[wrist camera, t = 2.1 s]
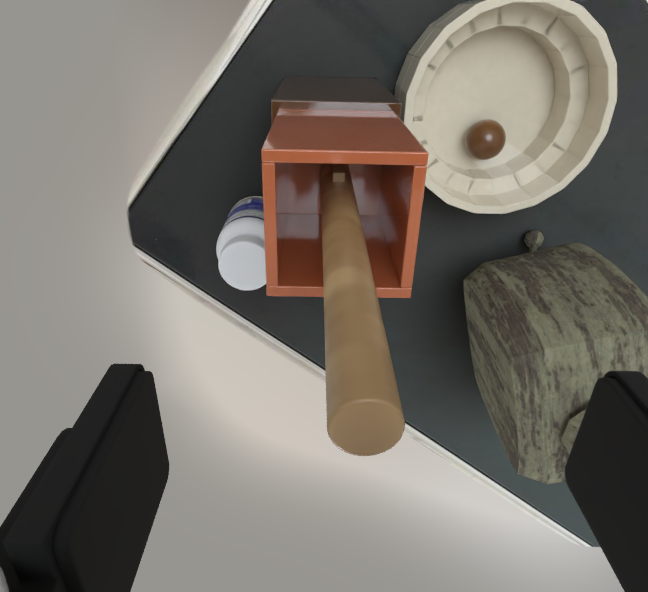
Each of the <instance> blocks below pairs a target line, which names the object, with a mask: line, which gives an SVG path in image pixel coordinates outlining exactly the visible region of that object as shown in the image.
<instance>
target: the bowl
mask: <svg viewBox="0 0 648 592" xmlns="http://www.w3.org/2000/svg"><path fill="white" fill-rule="evenodd" d="M616 63H617V62H616V60H615V57H614V54H613V51H612V49H611V46H610V43H609V40H608V37H607V35H606V32H605V30H604V29H603V28H602V27H601V26H600V25H599V23H598V22H597V21H596V20H595V19H594V18H593V17H592V16H591V15H590V14H589V12H588V11H587V10H586V9H585V8H584V7H583V6H582V5H580V4H577V3H575V2H573V1H571V0H470V1H467V2H464V3H461V4H458V5H457V6H455V7H453V8H452V9H450V10H449V11H448V12H446V13H445V14H444V15H442V16H441V17H440V18H438V19H437V20H436V21H434V22H433V23H431V24H430V25H429V26H428V27H427V28H426V30H425V31H424V32H423V34H422V35H421V36H420V38H419V39H418V40H417V42H416V43H415V44H414V45H413V47H412V48H411V49H410V51H409V52H408V54H407V56H406V58H405V61H404V64H403V66H402V69H401V71H400V74H399V76H398V79H397V82H396V85H395V94H394V96H395V97H396V98H397V99H398V100H399V101H400V102H401V104H402V106H401V116H400V119H401V121H402V122H403V123H404V124H405V125H406V126H407V128H408V129H409V130H410V131H411V132H412V134H413V135H414V136H415V137H416V138H417V140H418V141H419V142H420V143H421V144H422V146H423V147H424V148H425V149H426V150H427V151H428V153H429V156H428V164H427V165H426V166H427V172H426V180H425V186H426V187H427V188H428V189H429V190H431V191H432V192H433V193H434V194H436V195H437V196H438V197H439V198H441V199H442V200H443V201H444V202H445V203H447V204H449V205H452V206H455V207H457V208H460V209H463V210H466V211H469V212H472V213H481V214H506V213H509V212H513V211H517V210H520V209H524V208H528V207H531V206H534V205H537V204H538V203H540V202H542V201H543V200H545V199H547V198H548V197H550V196H552V195H554V194H555V193H557V192H559V191H560V190H562V189H563V188H565V187H566V186H567V185H568V184H569V183H570V182H571V181H572V180H573V179H574V178H575V177H576V176H577V175H578V174H579V173H580V172H581V171H582V170H583V169H584V168H585V167H586V166H587V165H588V163H589V162H590V160H591V159H592V157H593V156H594V154H595V152H596V151H597V149H598V147H599V146H600V144H601V142H602V141H603V139H604V137H605V136H606V133H607V132H608V129H609V125H610V122H611V118H612V115H613V112H614V108H615V105H616V101H617V64H616ZM483 119H491V120H495V121H497V122H498V123H499V124H501V125H502V127H503V128H504V130H505V134H506V142H505V145H504V147H503V149H502V151H501V152H500V153H499V154H498V155H497V156H495V157H493V158H491V159H487V160H480V159H476V158H474V157H473V156H471V155H470V154H469V152H468V151H467V149H466V146H465V137H466V134H467V132H468V130H469V128H470V127H471V126H472V125H473V124H474V123H476V122H478V121H480V120H483Z"/></svg>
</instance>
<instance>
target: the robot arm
mask: <svg viewBox="0 0 648 592" xmlns="http://www.w3.org/2000/svg"><path fill="white" fill-rule="evenodd" d="M168 474H169V461H168V455H167V449H166V444H165V439H164V433H163V427H162V422H161V417H160V411H159V405H158V400H157V394H156V389H155V383H154V377H153V374H152V372H150V371H145V370H144V368H143V366H142V365H141V364H113V365H111V366H110V367H109V369H108V370H107V372H106V374H105V375H104V377H103V379H102V380H101V382H100V383H99V386H98V387H97V388H96V390H95V392H94V393H93V395H92V397H91V398H90V400H89V402H88V403H87V405H86V406H85V408H84V410H83V411H82V413H81V415H80V416H79V418H78V419H77V421H76V423H75V424H74V426H73V428H67V429H65V430H63V431H62V432H61V433H60V435H59V436H58V437H57V438H56V440H55V442H54V443H53V445H52V446H51V448H50V449H49V451H48V453H47V454H46V456H45V457H44V459H43V461H42V462H41V464H40V465H39V467H38V468H37V470H36V472H35V473H34V475H33V476H32V478H31V480H30V481H29V483H28V484H27V486H26V487H25V489H24V491H23V492H22V494H21V495H20V497H19V498H18V500H17V502H16V503H15V505H14V507H13V508H12V509H11V511H10V513H9V514H8V516H7V517H6V519H5V521H4V522H3V524H2V525H1V527H0V592H130V591H131V588H132V585H133V582H134V578H135V576H136V573H137V570H138V567H139V564H140V561H141V558H142V555H143V552H144V549H145V546H146V542H147V540H148V536H149V534H150V531H151V528H152V525H153V521H154V519H155V515H156V513H157V509H158V507H159V504H160V501H161V498H162V494H163V492H164V489H165V486H166V483H167V479H168ZM565 479H566V483H567V485H568V487H569V489H570V491H571V492H572V494H573V496H574V498H575V500H576V502H577V504H578V506H579V507H580V509H581V511H582V513H583V515H584V517H585V519H586V520H587V522H588V524H589V526H590V528H591V530H592V532H593V533H594V535H595V537H596V539H597V541H598V543H599V545H600V546H601V548H602V550H603V552H604V554H605V556H606V558H607V560H608V561H609V563H610V565H611V567H612V569H613V571H614V573H615V574H616V576H617V578H618V580H619V582H620V584H621V586H622V587H623V589H624V591H625V592H648V378H647V377H646V376H645V375H644V374H642V373H641V372H638V371H609V372H607V373H606V374H605V375H604V377H603V378H599V379H598V380H597V382H596V384H595V386H594V389H593V392H592V395H591V397H590V400H589V403H588V406H587V408H586V411H585V414H584V417H583V419H582V422H581V425H580V427H579V430H578V433H577V436H576V438H575V441H574V444H573V447H572V449H571V452H570V455H569V457H568V460H567V463H566V466H565Z"/></svg>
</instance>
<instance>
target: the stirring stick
mask: <svg viewBox="0 0 648 592" xmlns="http://www.w3.org/2000/svg"><path fill="white" fill-rule="evenodd" d="M320 173H321V212H322V250H323V288H324V326H325V364H326V400H327V431H328V435H329V437H330V439H331V440H332V442H333V443H334V444H335V445H336V446H337V447H338V448H339V449H341V450H342V451H344V452H347V453H349V454H353V455H358V456H370V455H376V454H380V453H383V452H385V451H387V450H389V449H390V448H392V447H393V446H394V445H395V444H396V443H397V442H398V441H399V440H400V438H401V437H402V434H403V432H404V428H405V420H404V415H403V411H402V406H401V402H400V397H399V393H398V388H397V384H396V379H395V374H394V370H393V365H392V361H391V356H390V352H389V347H388V343H387V338H386V333H385V329H384V324H383V320H382V315H381V311H380V306H379V302H378V297H377V293H376V288H375V283H374V279H373V274H372V270H371V265H370V261H369V256H368V252H367V247H366V242H365V238H364V233H363V229H362V224H361V220H360V215H359V211H358V206H357V202H356V197H355V192H354V188H353V183H352V179H351V174H350V170H349V166H348V164H322V165H321V169H320Z"/></svg>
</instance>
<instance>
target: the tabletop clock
mask: <svg viewBox="0 0 648 592" xmlns="http://www.w3.org/2000/svg"><path fill="white" fill-rule="evenodd" d="M543 240H544V237H543V235H542V233H541V232H539V231H537V230H531V231H529V232H528V233H526V235H525V238H524V242H525V244H526V246H528V247H530V250H529V253H525V254H520V255H515V256H511V257H506V258H502V259H497V260H493V261H488V262H484V263H482V264H481V265H479V266H478V267H477V268H476V269H475V270H474V271H473V272H472V273H470V274H469V275H468V276H467V277H466V278H465V279H464V299H465V308H466V317H467V326H468V334H469V341H470V349H471V356H472V363H473V369H474V373H475V378H476V382H477V385H478V388H479V390H480V393H481V396H482V398H483V401H484V403H485V406H486V408H487V411H488V413H489V415H490V418H491V420H492V423H493V425H494V427H495V430H496V432H497V434H498V436H499V438H500V441H501V443H502V445H503V447H504V449H505V452H506V454H507V456H508V458H509V460H510V462H511V464H512V466H513V468H514V469H515V471H516V472H517V474H520V475H523V476H526V477H528V478H531V479H534V480H536V481H539V482H542V483H545V484H551V483H557V482H563V481H566V479H565V466H566V463H567V460H568V457H569V455H570V452H571V449H572V447H573V444H574V441H575V438H576V436H577V433H578V430H579V427H580V425H581V422H582V419H583V417H584V414H585V411H586V408H587V406H588V403H589V400H590V397H591V395H592V392H593V389H594V386H595V384H596V382H597V380H598V379H599V378H603V377H604V375H605V374H606V373H607V372H609V371H638V372H641V373H642V374H644V375H645V376H646V377H647V378H648V297H647V296H646V295H645V294H644V293H643V292H642V291H641V289H640V288H639V287H638V286H637V285H636V284H635V283H633V282H632V281H631V280H630V279H629V278H628V277H627V276H626V275H625V274H624V273H623V272H622V271H621V270H620V269H619V268H618V267H617V266H616V265H615V264H614V263H612V262H611V261H609V260H608V259H606V258H605V257H604V256H602V255H601V254H599V253H598V252H596V251H595V250H593V249H592V248H590V247H588V246H586V245H584V244H582V243H570V244H565V245H561V246H556V247H552V248H547V249H543V250H538V251H537V247H539V246H541V245H542V243H543Z"/></svg>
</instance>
